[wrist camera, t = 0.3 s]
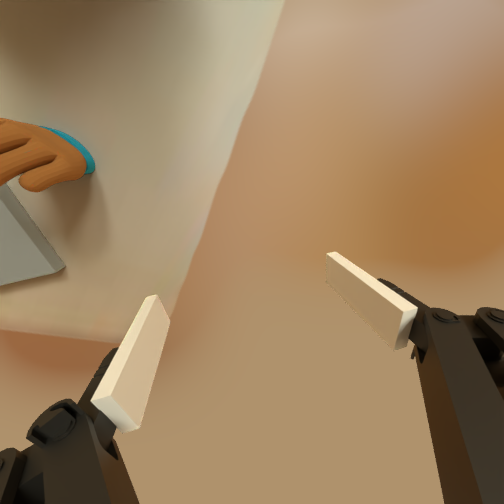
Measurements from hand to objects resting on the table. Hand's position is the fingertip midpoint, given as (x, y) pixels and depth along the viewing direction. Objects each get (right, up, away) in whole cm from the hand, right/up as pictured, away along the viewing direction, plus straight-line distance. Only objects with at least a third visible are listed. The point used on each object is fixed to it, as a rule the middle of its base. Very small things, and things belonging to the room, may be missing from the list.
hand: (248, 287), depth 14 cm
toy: (-32, +19, +16) cm, 40 cm away
